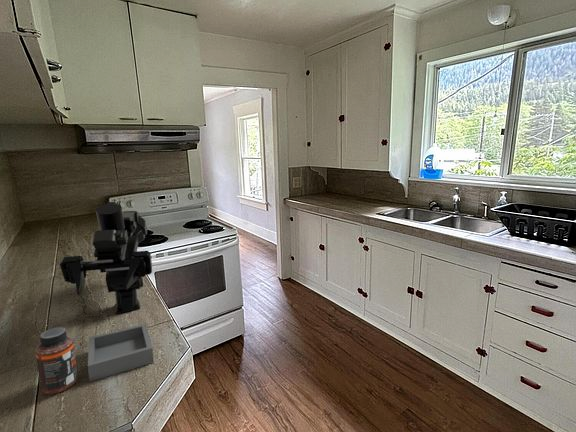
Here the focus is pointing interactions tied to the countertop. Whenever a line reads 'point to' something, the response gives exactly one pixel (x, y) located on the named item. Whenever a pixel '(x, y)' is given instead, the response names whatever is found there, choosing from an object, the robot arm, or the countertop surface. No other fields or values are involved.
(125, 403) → the countertop surface
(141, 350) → the tray
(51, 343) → the supplement bottle
